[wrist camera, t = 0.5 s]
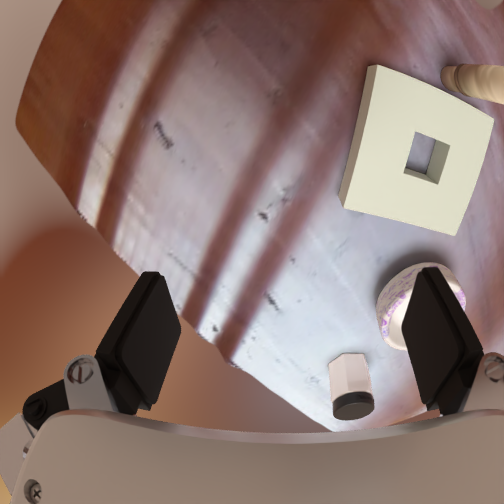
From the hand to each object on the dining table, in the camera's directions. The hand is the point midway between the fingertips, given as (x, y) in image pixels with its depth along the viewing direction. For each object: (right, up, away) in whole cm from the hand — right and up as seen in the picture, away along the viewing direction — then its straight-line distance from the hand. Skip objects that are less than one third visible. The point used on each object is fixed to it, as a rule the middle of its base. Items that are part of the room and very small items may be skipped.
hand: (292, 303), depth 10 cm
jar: (+19, -22, +46) cm, 55 cm away
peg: (+25, +25, +16) cm, 38 cm away
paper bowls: (+26, -4, +34) cm, 43 cm away
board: (+20, +15, +22) cm, 34 cm away
